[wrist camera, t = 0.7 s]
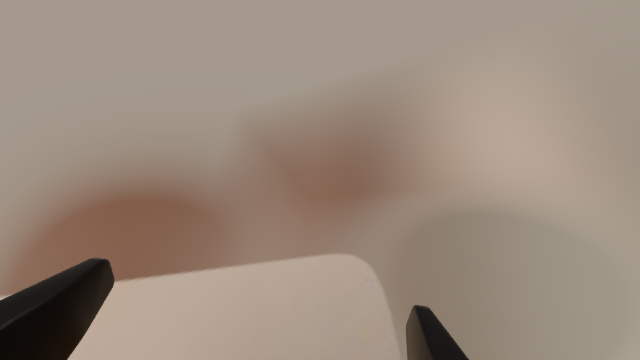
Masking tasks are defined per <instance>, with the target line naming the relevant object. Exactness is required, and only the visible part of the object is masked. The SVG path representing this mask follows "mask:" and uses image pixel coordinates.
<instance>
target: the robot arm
mask: <svg viewBox="0 0 640 360" xmlns="http://www.w3.org/2000/svg"><path fill="white" fill-rule="evenodd" d="M113 285H114V275H113V272H112V268H111V265H110V262H109V261H108V260H107V259H102V258H91V259H88V260H86V261H84V262H82V263H80V264H78V265H76V266H74V267H71V268H69V269H67V270H65V271H63V272H61V273H58V274H56V275H54V276H52V277H50V278H48V279H45V280H43V281H41V282H39V283H37V284H35V285H32V286H30V287H29V288H26V289H24V290H22V291H20V292H17V293H15V294H13V295H11V296H9V297H7V298H5V299H2V300H0V360H67V359H68V358H69V356H70V355H71V353H72V352H73V351H74V349H75V348H76V347H77V345H78V344H79V342H80V341H81V339H82V338H83V336H84V335H85V333H86V332H87V330H88V328H89V327H90V325H91V323H92V322H93V320H94V318H95V317H96V315H97V313H98V311H99V310H100V308H101V306H102V305H103V303H104V301H105V300H106V298H107V296H108V295H109V293H110V291H111V289H112V288H113ZM406 342H407V356H408V360H469V359H468V358H467V356H466V355H465V354H464V353H463V351H462V350H461V349H460V347H459V346H458V345H457V343H456V342H455V341H454V339H453V338H452V337H451V336H450V334H449V333H448V332H447V330H446V329H445V328H444V327H443V325H442V324H441V322H440V321H439V320H438V319H437V317H436V316H435V315H434V313H433V312H432V311H431V310H430V308H428V307H426V306H419V305H415V306H413V308H412V310H411V313H410V316H409V318H408V321H407V325H406Z"/></svg>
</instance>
